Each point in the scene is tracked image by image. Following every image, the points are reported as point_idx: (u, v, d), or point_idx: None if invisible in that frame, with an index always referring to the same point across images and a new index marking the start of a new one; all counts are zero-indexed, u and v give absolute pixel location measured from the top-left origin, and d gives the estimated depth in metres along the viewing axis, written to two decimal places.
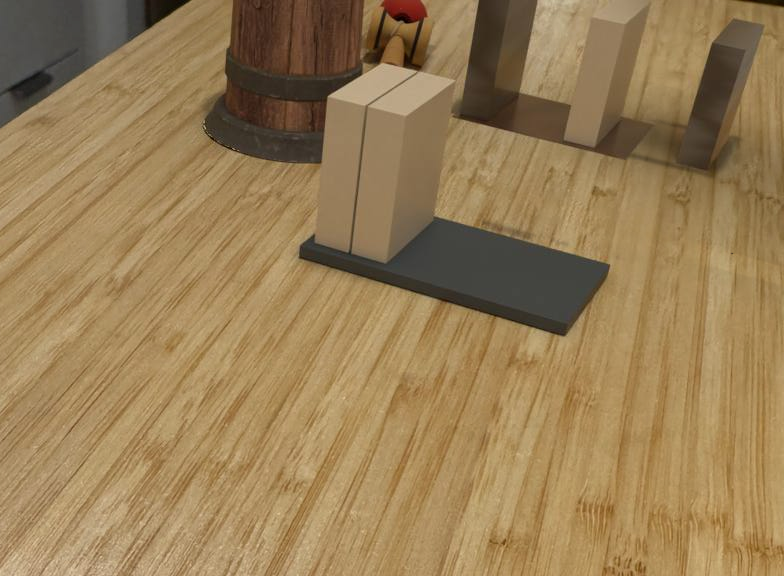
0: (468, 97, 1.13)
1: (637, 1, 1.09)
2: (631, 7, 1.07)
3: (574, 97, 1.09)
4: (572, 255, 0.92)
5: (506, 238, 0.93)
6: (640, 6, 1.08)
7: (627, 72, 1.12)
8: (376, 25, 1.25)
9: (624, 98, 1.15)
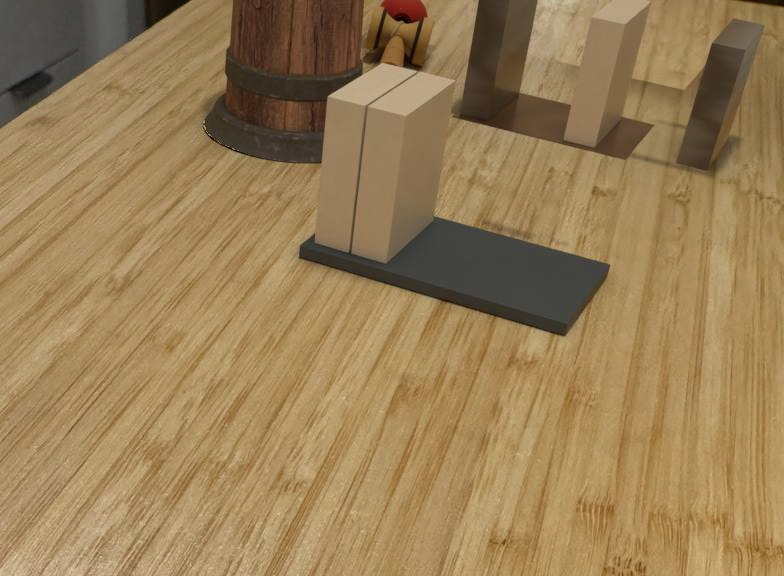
0: (468, 97, 1.13)
1: (637, 1, 1.09)
2: (631, 7, 1.07)
3: (574, 97, 1.09)
4: (572, 255, 0.92)
5: (506, 238, 0.93)
6: (640, 6, 1.08)
7: (627, 72, 1.12)
8: (376, 25, 1.25)
9: (624, 98, 1.15)
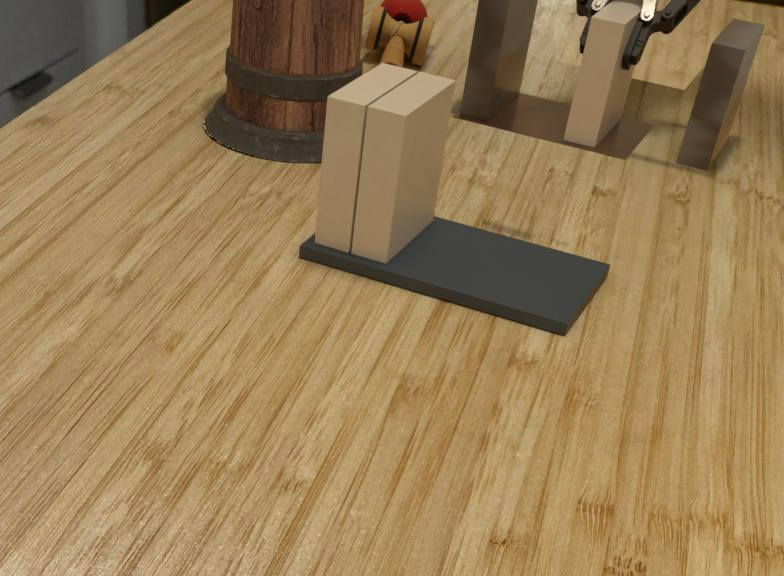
0: (468, 97, 1.13)
1: (637, 1, 1.09)
2: (631, 7, 1.07)
3: (574, 97, 1.09)
4: (572, 255, 0.92)
5: (506, 238, 0.93)
6: (640, 6, 1.08)
7: (627, 72, 1.12)
8: (376, 25, 1.25)
9: (624, 98, 1.15)
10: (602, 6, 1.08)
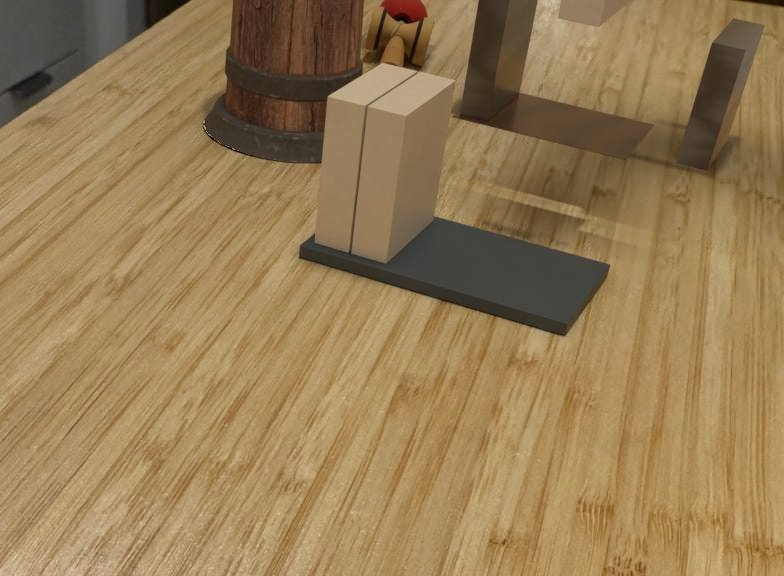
0: (468, 97, 1.13)
1: None
2: None
3: None
4: (572, 255, 0.92)
5: (506, 238, 0.93)
6: None
7: None
8: (376, 25, 1.25)
9: None
10: None
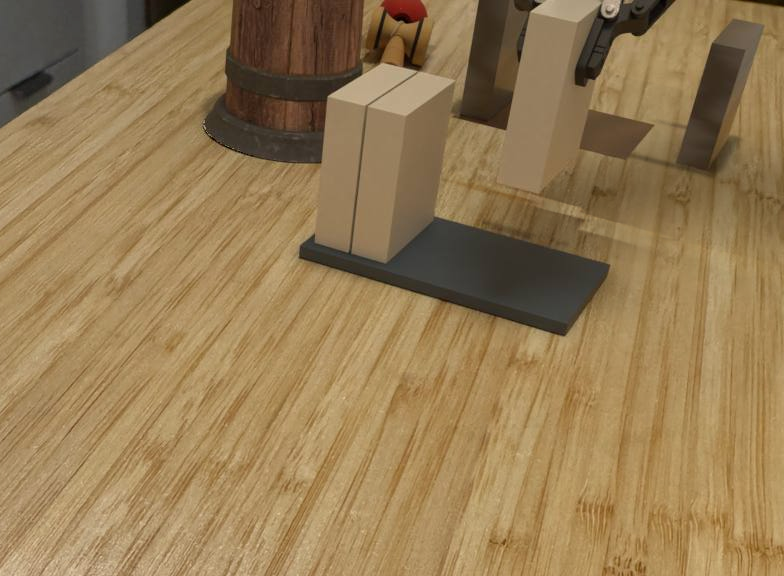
0: (468, 97, 1.13)
1: None
2: None
3: (509, 124, 0.78)
4: (572, 255, 0.92)
5: (506, 238, 0.93)
6: None
7: (585, 88, 0.81)
8: (376, 25, 1.25)
9: (582, 123, 0.84)
10: None
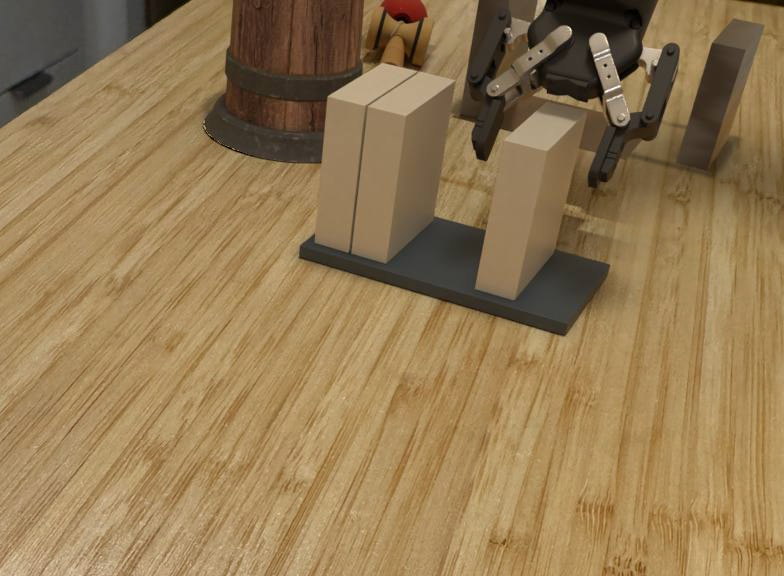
0: (468, 97, 1.13)
1: (569, 112, 0.84)
2: (559, 122, 0.82)
3: (486, 238, 0.83)
4: (572, 255, 0.92)
5: None
6: (571, 120, 0.82)
7: (558, 200, 0.86)
8: (376, 25, 1.25)
9: (556, 229, 0.89)
10: (498, 93, 0.82)
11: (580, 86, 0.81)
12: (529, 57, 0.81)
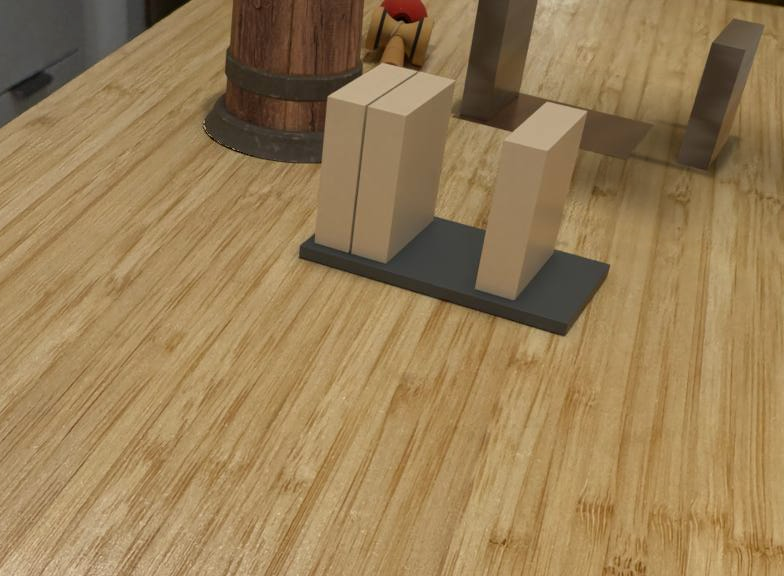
0: (468, 97, 1.13)
1: (569, 112, 0.84)
2: (559, 122, 0.82)
3: (486, 238, 0.83)
4: (572, 255, 0.92)
5: None
6: (571, 120, 0.82)
7: (558, 200, 0.86)
8: (376, 25, 1.25)
9: (556, 229, 0.89)
10: None
11: None
12: None
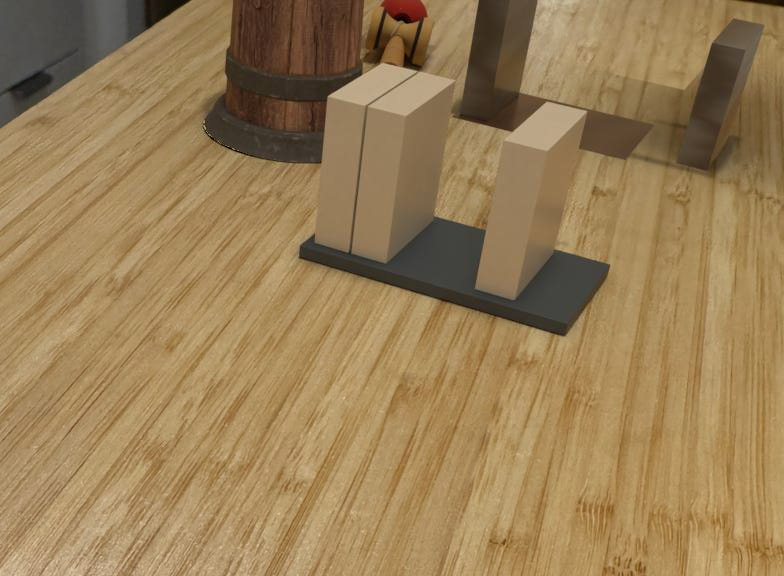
0: (468, 97, 1.13)
1: (569, 112, 0.84)
2: (559, 122, 0.82)
3: (486, 238, 0.83)
4: (572, 255, 0.92)
5: None
6: (571, 120, 0.82)
7: (558, 200, 0.86)
8: (376, 25, 1.25)
9: (556, 229, 0.89)
10: None
11: None
12: None
